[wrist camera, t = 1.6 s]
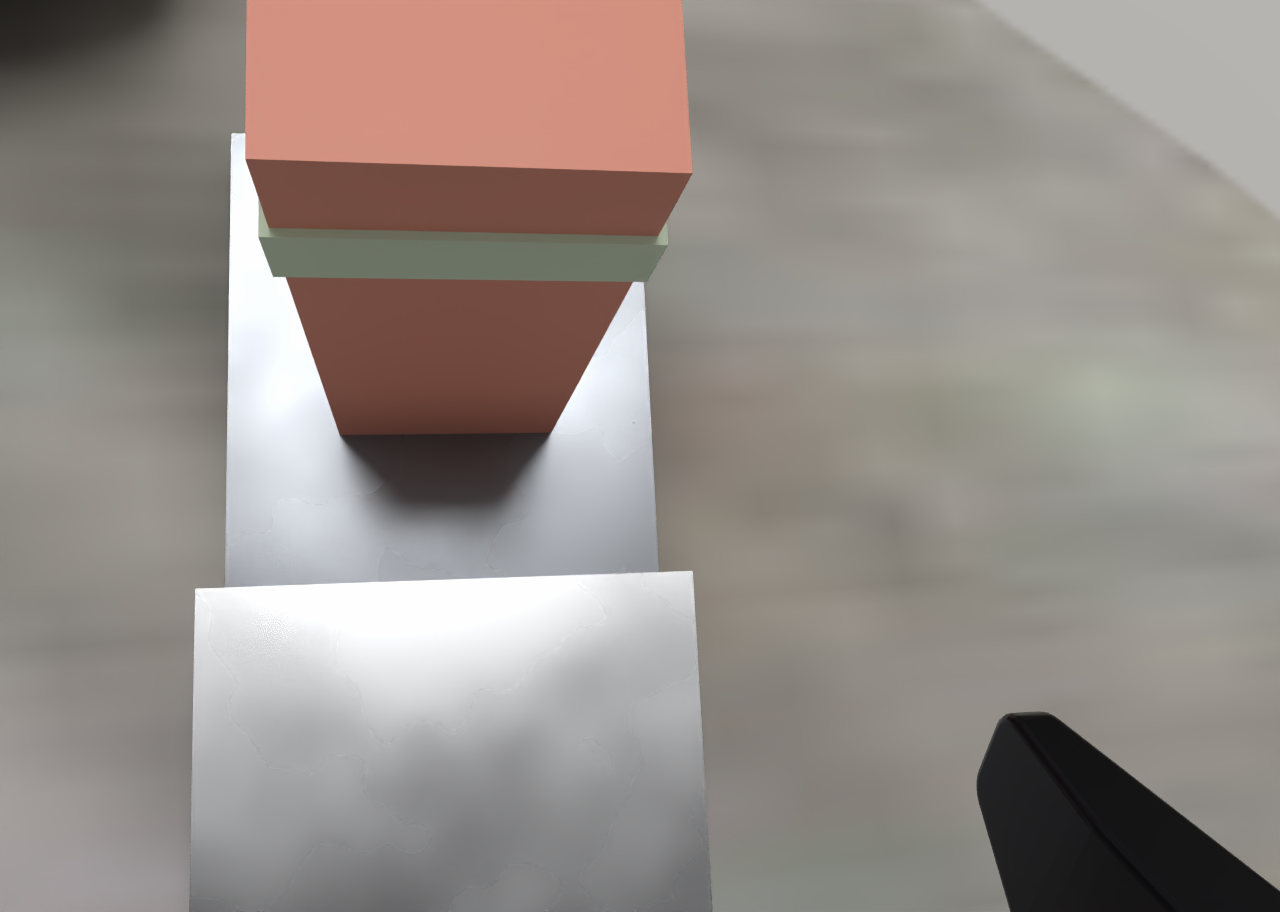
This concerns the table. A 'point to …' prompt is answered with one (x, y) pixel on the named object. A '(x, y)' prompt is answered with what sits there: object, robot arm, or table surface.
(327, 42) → the salmon pink rectangular block
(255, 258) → the stand base
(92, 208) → the table surface
